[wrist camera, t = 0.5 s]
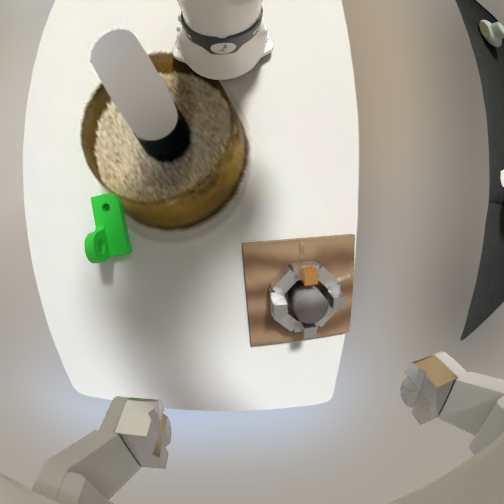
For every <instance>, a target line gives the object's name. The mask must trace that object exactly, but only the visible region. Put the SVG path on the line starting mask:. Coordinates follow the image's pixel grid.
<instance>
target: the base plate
mask: <svg viewBox="0 0 504 504" xmlns="http://www.w3.org/2000/svg"><path fill="white" fill-rule="evenodd" d="M354 242H355V235H353V234H347V235H334V236H321V237H309V238H297V239H285V240H273V241H261V242H250V243H242V245H243V257H244V269H245V281H246V292H247V304H248V315H249V327H250V338H251V346H255V345H264V344H273V343H281V342H289V341H296V340H303V339H304V338H303V336H302V334H301V332H294V330H293V331H290V330H288V329H287V328H285V327H284V326H283V325H281V324H280V323H278V322H277V321H276V320H274V319H273V316H272V315H271V311H270V304H269V287H270V286H271V285H270V282H271V281H272V280H273V279H274V278H275V277H276V276H277V275H278V274H279V273H280V271H281V270H282V269H283V268H284V267H285V266H286V265H288V266H289V267H290V263H293V262H303V261H313V260H315V261H316V262H319V263H320V264H321V265H322V266H323V267H325V268H326V269H327V270H328V271H329V272H330V273H331V274H332V275H333V276H334V277H335V278H336V279H337V280H338V281H339V283H340V284H341V285H340V291H341V292H342V293H343V294H344V295H345V296H346V302H345V308H342V309H337V310H338V311H337V312H336V313H335V314H334V315H333V316H332V317H331V318H330V319H329V320H328V321H327V322H326V323H325V324H324V325H323V326H322V327H320V326H319V325H318V329H317V334H316V337H322V336H328V335H334V334H340V333H345V332H349V327H350V316H351V304H352V291H353V290H352V289H353V273H354ZM284 297H285V300H286V302H287V308H288V310H290V311H291V312H292V313H294V314H296V316H297V318H298V319H299V320H300V321H301V322H303V323H306V324H312V323H316V322H318V321H320V320H321V319H322V318H323V317H324V316H325V315H326V313H327V310H328V302H327V300H326V298H325V297H324V296H323V284H322V283H321V282H320V281H318V284H316V285H307V286H304V284H303V283H302V281H301V280H297V281H296V283H295V284H294V285H293V286H292V287H291V288H290V289H289V290H288V291H287V292H286V293H285V294H284Z"/></svg>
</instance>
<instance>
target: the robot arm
mask: <svg viewBox="0 0 504 504" xmlns="http://www.w3.org/2000/svg"><path fill="white" fill-rule="evenodd" d="M177 2H178V4H179V6H180V9H181V12H179V15H178V20H179V21H180V22H181V25H178V26H177V31H179V32H178V35H177V39H176V43H175V46H174V50H173V57H174V58H175V59H177V60H179V61H181V62H184V63H186V64H187V65H188V66H189V67H190V68H191V69H192V70H193V71H194V72H196V73H197V74H199V75H201V76H203V77H206V78H209V79H214V80H227V79H233V78H236V77H239V76H242V75H244V74H246V73H247V72H249V71H250V70H251V69H252V68H253V67H254V66H255V65H256V64H257V63H258V61H259V60H260V59H261V58H262V57H263V56H265V55H267V54H268V53H270V52H271V51H272V50H273V43H272V41H271V38H270V35H269V33H268V29H267V28H266V25H265V23H264V21H263V14H262V13H263V10H262V6H261V5H262V0H177ZM266 42H267V43H266ZM179 48H180V50H179ZM406 375H407V377H406V378H405V379H404V381H403V382H402V385H401V397H402V400H403V401H404V403H405V404H406V405H407V406H409V407H412V414H413V415H414V417H415V418H416V420H417V421H418V422H419V424H423V423H426V422H427V421H430V420H432V419H434V418H436V417H439V418H440V419H442V420H444V421H446V422H448V423H450V424H452V425H454V426H456V427H458V428H460V429H462V430H464V431H466V432H469V433H471V434H473V435H475V437H474V439H473V440H472V442H471V443H470V445H469V448H470V450H471V451H472V453H473V454H474V456H473V457H471V458H470V459H468V460H467V461H466V462H464V463H462V464H461V465H459V466H458V467H456V468H455V469H453V470H452V471H450V472H448V473H447V474H445V475H443V476H442V477H440V478H438V479H437V480H435V481H433V482H431V483H429V484H428V485H426V486H424V487H422V488H420V489H418V490H416V491H414V492H412V493H410V494H408V495H406V496H404V497H401V498H399V499H397V500H394V501H393V502H390V503H387V504H504V380H502V379H498V378H494V377H490V376H486V375H482V374H478V373H474V372H469V373H468V372H467V371H466V370H465V369H463V368H462V367H461V366H460V365H459V364H458V363H457V362H456V361H455V360H453V359H452V358H451V357H450V356H449V355H448V354H447V353H445V352H442V351H441V352H438V353H436V354H433V355H431V356H428V357H425V358H423V359H420V360H417V361H415V362H412V363H410V364H409V365H408V366H407V368H406ZM163 410H164V407H163V404H162V402H161V401H160V400H154V399H141V398H127V397H119V396H116V397H115V398H114V399H113V400H112V402H111V405H110V407H109V409H108V411H107V413H106V416H105V418H104V420H103V422H102V424H101V427H100V429H99V430H94V431H93V432H91V433H90V434H88V435H86V436H85V437H83V438H82V439H80V440H78V441H77V442H75V443H74V444H72V445H71V446H69V447H68V448H66V449H64V450H62V451H61V452H59V453H58V454H56V455H54V456H52V457H51V458H49V459H47V460H46V461H45V462H44V464H43V466H42V468H41V471H40V472H39V475H38V477H37V479H36V481H35V483H34V485H33V488H32V490H31V489H29V488H27V487H25V486H24V485H22V484H20V483H19V482H17V481H15V480H13V479H12V478H10V477H8V476H7V475H5V474H4V473H2V472H0V504H113V503H111V502H110V501H109V499H110V498H111V497H112V496H113V495H114V494H115V493H116V492H117V491H118V490H119V489H120V488H121V487H122V486H123V485H124V484H125V483H126V482H127V481H128V480H129V479H130V478H131V477H132V476H133V475H134V474H135V473H136V472H137V471H138V470H139V469H140V468H141V467H151V468H163V469H165V468H166V464H167V458H168V451H167V450H166V448H165V447H166V446H167V445H168V444H169V443H170V441H171V426H170V422H169V419H168V417H167V416H166V415H164V414H163Z"/></svg>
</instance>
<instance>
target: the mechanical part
mask: <svg viewBox="0 0 504 504" xmlns="http://www.w3.org/2000/svg"><path fill="white" fill-rule="evenodd" d="M91 202H92V208H93V214H94V219H95V225H96V229H95V231H94V232H92V233H90V234H88V235H87V236H86V239H85V253H86V256H87V258H88V260H89V261H90V262H91V263H99V262H104V261H105V260H107V259H108V258H110V257H112V256H118V255H124V254H129V253H130V252H132V250H131V245H130V241H129V236H128V231H127V225H126V220H125V214H124V208H123V204H122V201H121V199H120V198H119V197H118V196H117V195H115V194H103V195H99V196H95V197H92V198H91ZM106 204H109V206H110V210H109V211H107V210H106Z"/></svg>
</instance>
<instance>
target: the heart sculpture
mask: <svg viewBox="0 0 504 504" xmlns="http://www.w3.org/2000/svg"><path fill="white" fill-rule="evenodd" d="M501 183H502V186H503V187H504V170H502V171H501Z"/></svg>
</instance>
